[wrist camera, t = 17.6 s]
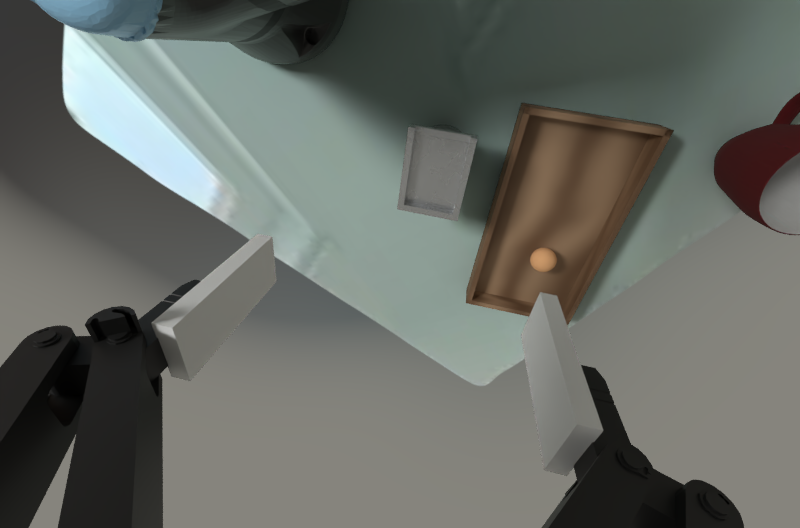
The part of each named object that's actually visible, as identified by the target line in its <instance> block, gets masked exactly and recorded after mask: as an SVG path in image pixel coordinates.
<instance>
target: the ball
mask: <svg viewBox="0 0 800 528" xmlns="http://www.w3.org/2000/svg"><path fill="white" fill-rule="evenodd" d="M530 262H531V265H532V267H533V268H534V269H535V270H537V271H539V272H548V271H550V270H552V269H553V268H554V267H555V265H556V263H557V257H556V255H555V253H554V252H553V251H552V250H551V249H548V248H539V249H537V250H535V251H534V252H533V253H532V255H531V258H530Z"/></svg>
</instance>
